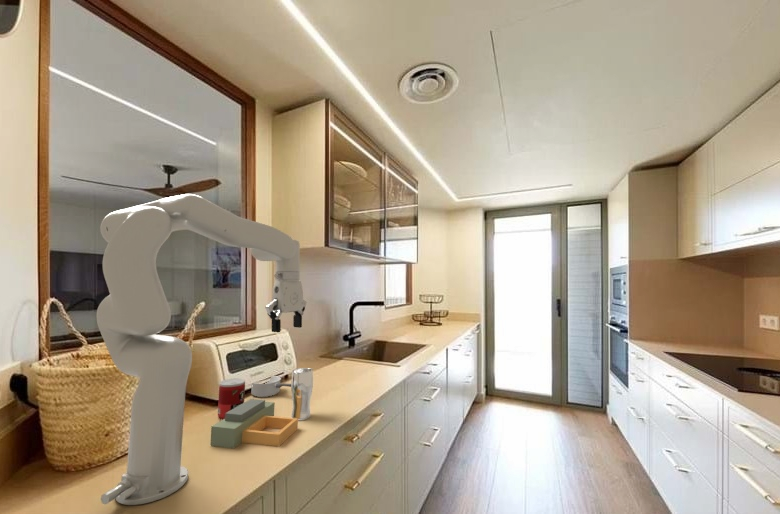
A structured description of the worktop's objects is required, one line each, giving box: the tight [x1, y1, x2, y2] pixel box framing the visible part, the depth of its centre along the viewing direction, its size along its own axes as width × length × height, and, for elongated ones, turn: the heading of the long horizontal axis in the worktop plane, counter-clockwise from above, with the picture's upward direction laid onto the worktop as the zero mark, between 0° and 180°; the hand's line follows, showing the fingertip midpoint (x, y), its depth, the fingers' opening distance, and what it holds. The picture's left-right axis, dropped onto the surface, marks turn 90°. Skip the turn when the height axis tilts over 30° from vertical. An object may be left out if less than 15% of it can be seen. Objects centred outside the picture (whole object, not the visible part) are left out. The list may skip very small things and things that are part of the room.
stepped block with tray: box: [209, 398, 299, 449], centre depth 96 cm, size 20×18×7 cm
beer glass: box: [290, 367, 314, 422], centre depth 108 cm, size 7×7×15 cm
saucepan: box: [250, 375, 291, 398], centre depth 128 cm, size 12×20×6 cm, turn 63°
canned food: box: [217, 377, 246, 420], centre depth 108 cm, size 8×8×11 cm
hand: (287, 329), depth 106 cm, fingers open, 9 cm apart
